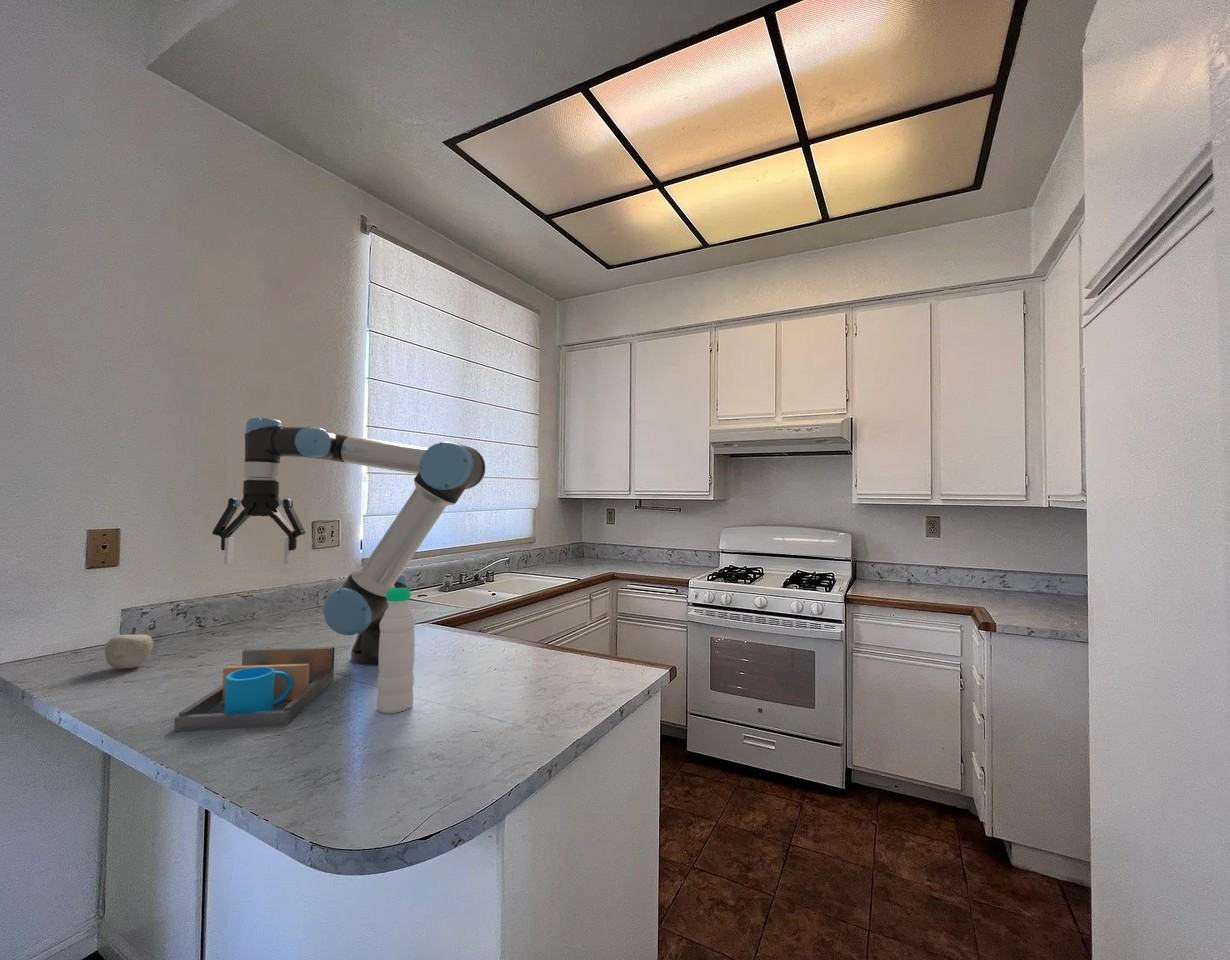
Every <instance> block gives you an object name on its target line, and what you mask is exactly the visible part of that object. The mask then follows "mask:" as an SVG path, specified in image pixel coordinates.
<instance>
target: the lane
mask: <svg viewBox="0 0 1230 960" xmlns="http://www.w3.org/2000/svg"><path fill="white" fill-rule="evenodd" d="M241 659H242V660H241V666H252V665H282V664H310V666H309V686H308V687H307V688H306V689H304V690H303V691H302V692H301V693H300V694H299V695H298V696H297V697H295V698H294V699H292V700H290V702H289V703H288V704H286V705H285V706H284V707H283V710H273V711H258V712H237V713H224V712H223V713H222V712H219V713H218V712H217V713H210V712H212V711H213V710H214V709H216V708H217V707H218V706H220V705H221V704H223V703H222V693H223V684H222V685H220V686H219V687H216V688H215V689H214V690H212V691H211V692H209V693H207V694H206V695H205V696H203V697H202V698H200V699H198V700H197V701H195V702H193V703H192V704H191V705H188V706H187V707H186V708H184V709H182V710H181V711H179V712H178V715H177V716H175V717H174V730H173V731H174V732H187V731H188V732H189V731H209V730H225V729H226V730H228V729H245V728H246V729H248V728H267V727H270V728H271V727H283V726H284V727H285V726H288V725H290V724H291V723H292V722H293V721H294V720H295V719H296V718H298V716H299V715H300V714H301V713H302V712H303V711H304V710H305V709H306V708H307V707H308V706H309V705H310V704H311V703H312V702H313V701H314V700H315V699H316V698H317V697H318V696H319V695H320V694H321V693H322V692H323V691H324V690H326V688H328V687H329V685H331V683H333V682H334V674H335V646H323V647H321V646H320V647H290V648H289V647H287V648H285V647H284V648H283V647H282V648H256V649H254V648H253V649H252V648H248V649H243V650H242V657H241Z"/></svg>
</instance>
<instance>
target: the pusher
mask: <svg viewBox="0 0 1230 960" xmlns="http://www.w3.org/2000/svg"><path fill="white" fill-rule="evenodd" d="M309 666H310V664H282V665H252V666H242V665H231V666H230V665H229V666H227V665H226V666H224V667H223V673H222V685H223V693H222V703H221V704H223V703H225V679H226V676H227V675H228V674H230V673H232V672H235V671H238V670H241V669H246V668H252V667H271V668H273V669H274V671H281V672H285V673H287V674H288V675H289V676H290V677H291V678H292V683H293V684H292V688H291V690H290V692H289V694H288V695H287V696H286V697H285V698H284V699H283V700H282V701H287V700H290V701H292V700H293V699H294V698H295V697H297V696H298V695H299V694H300V693H301V692H302V691H303V690H304V689H306V688H307V687H308V686H309V685H310V683H309ZM286 687H287V680H286V679H285V678H284V677H283V676H281V675H274V698H273V701H274V700H275V699H277V698H278V697H280V696H281V695H282V694H283V693H284V691H285V689H286Z"/></svg>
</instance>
